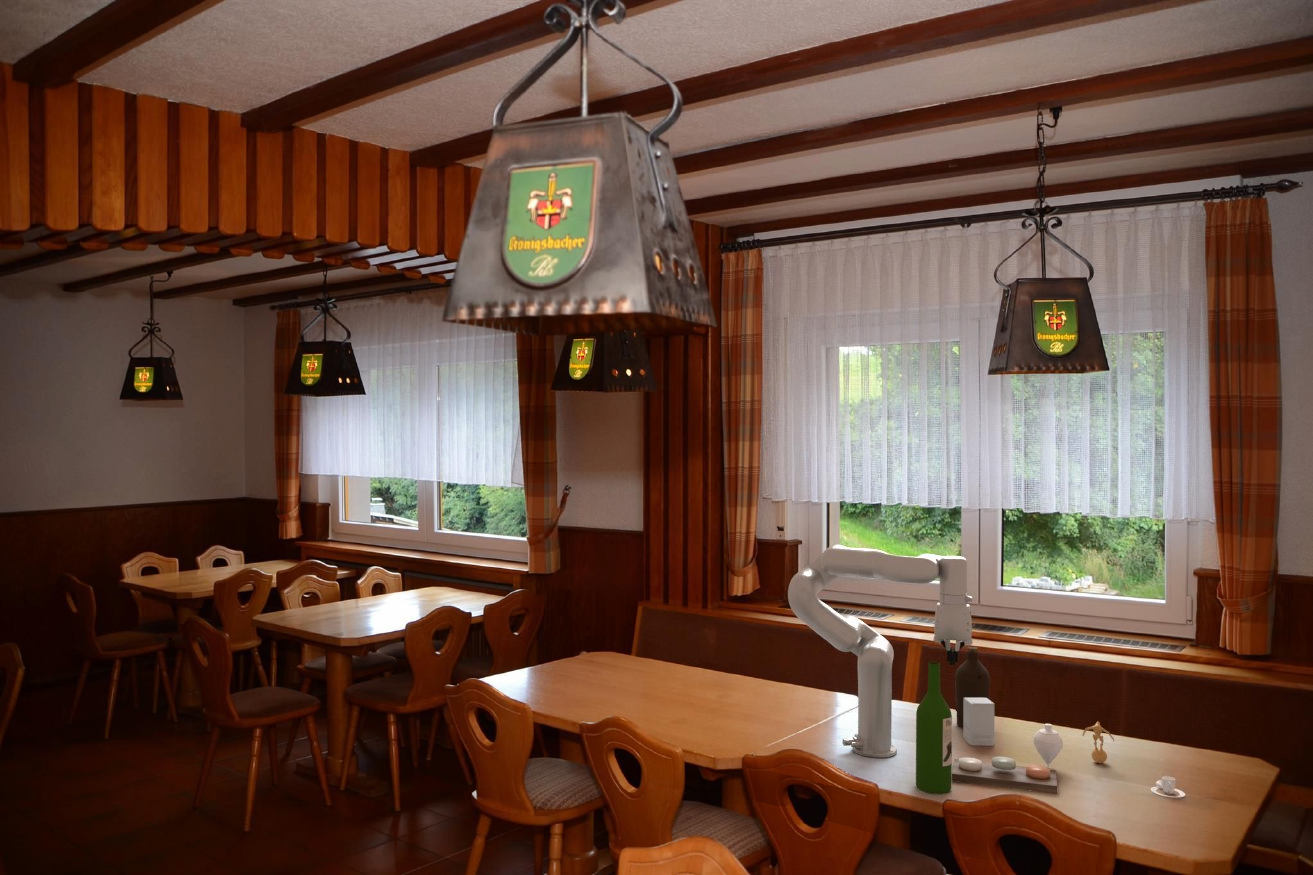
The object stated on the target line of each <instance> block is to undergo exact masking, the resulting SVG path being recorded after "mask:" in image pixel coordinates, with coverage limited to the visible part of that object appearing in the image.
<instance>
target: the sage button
mask: <svg viewBox="0 0 1313 875" xmlns="http://www.w3.org/2000/svg"><path fill="white" fill-rule="evenodd" d="M1016 762H1017V761H1016V760H1015V759H1013V758H1010V757H1007V756H994V757H991V763H992V766H993V767H995V768H997V769H1002V770H1013V769H1015V768H1016V766H1017V765H1016V764H1017V763H1016Z"/></svg>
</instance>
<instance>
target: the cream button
mask: <svg viewBox="0 0 1313 875" xmlns="http://www.w3.org/2000/svg"><path fill="white" fill-rule="evenodd" d="M958 759H959V767H960V768H962V769H965V770H970V771H978V770H981V769H982V762H983V761H982V760H980V759H978V758H973V757H960V758H958Z"/></svg>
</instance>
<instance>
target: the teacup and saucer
mask: <svg viewBox="0 0 1313 875" xmlns="http://www.w3.org/2000/svg"><path fill="white" fill-rule="evenodd" d="M1155 785H1156V786H1152V787H1151V788H1150V792H1152V793H1153V794H1156V795H1159V796H1161V797H1166V798H1172V799H1174V798H1175V799H1179V798H1185V797H1186V793H1185V792H1184V791H1183V790H1180V789H1178V788H1176V778H1175V777H1172V776H1169V775H1168V776H1167V775H1163V776H1161V779H1160V780H1159V779H1158V780H1157V781H1156V782H1155ZM1159 789H1160V790H1162V791H1163V793H1164V794H1162V793H1159V792H1158V791H1157V790H1159ZM1174 792H1177V793H1178V794H1179V795H1173V794H1174ZM1166 794H1168V795H1166ZM1172 795H1173V796H1172Z"/></svg>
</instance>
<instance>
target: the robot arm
mask: <svg viewBox="0 0 1313 875" xmlns="http://www.w3.org/2000/svg"><path fill="white" fill-rule="evenodd" d="M839 576H840V577H849V578H864V579H875V580H881V581H888V582H889V581H890V582H896V583H897V582H898V583H906V584H918V585H919V584H920V585H921V584H923V585H926V584H930V583H932V582H934V581H935V580H939V594H938V596H939V600H938V601H939V602H937V603H936V608H935V613H934V626H933V627H934V629H933V631H934V636H933V642H934V643H936V644H940V645H942V647H943V648H945V651H946V653H947V654H946V658H947V659H946V660H947V662H949V666H956V665H957V663H958V662H959V651H960V650H961V649H962V648H963V647H966V646H967V647H968V646H971V645H973V639H972V637H973V635H972V634H973V625H972V624H973V622H972V621H973V620H972V612H971V611H972V610H971V606H970V604H968V603H970V602H973V596H970V595H968V561H967V559H966V558H965V557H963V556H959V555H944V556H943V555H937V554H932V553H922V554H919V555H918V556H907V555H898V554H897V555H896V554H891V553H887V552H885V551H883V550H880V549H875V548H860V547H859V548H857V547H847V546H845V545H842V544H832V545H830V546H829V547H827V548H826V549H825V550H824V551H823V552H822V553H821V554H820V555H818V556H817V557H816V558H815V559H813V560H812V561H811V562H810V563H809V564H808V565H806V566H804V568H802V569H801V570H800V571H798V572H797V573H795V574H794V575H793V577H792V578H791V579H790V582H789V585H788V590H787V599H788V603H789V604H788V605H789V607H790V608H791V611H792V613H793V614H794V615H795V616H796V617H797V618H798V619H799V620H800V621H801V622H803V624H805V625H806V626H807V627H809V628H810V629H811V630H813V631H814V632H815V633H816V634H817V635H819V636H820V637H821V638H823V639H824V640H826V642H828V643H829V644H830V645H832V646H833V647H834V648H835V649H837V650H838V651H840V652H844V653H848V652H851V653H852V654H854V655H855V656H856V657H857V680H858V681H857V684H858V686H857V689H858V690H857V697H858V698H857V699H858V700H857V702H858V703H857V707H858V708H857V710H858V711H857V712H858V713H857V715H858V717H857V722H858V723H857V733H855V734H854V736H853V737H852V738H843V739H842V745H843V746H844V747H845V746H846V747H847V746H850V747H851V748H852V751H853V752H854V753H856V754H858V755H861V756H864V757H869V758H877V759H878V758H882V759H883V758H891V757H893V756H895V755H897V754H898V753H897V752H898V749H897V747H896V746H895V745H893V744H892V716H893V715H892V714H893V713H892V707H893V705H892V703H893V702H892V701H893V699H892V695H893V694H892V692H893V691H892V688H893V687H892V682H893V681H892V680H893V679H892V677H893V676H892V669H893V668H892V667H893V660H894V656H895V655H894V649H893V646H892V644H891V643H890V641H889V640H887V639H886V638H885V637H884V636H882V635H881V634H880V633H878V632H877V631H876V630H874V629H873V628H872V627H871V626H869V625H868V624H866V623H865V622H863V621H862V620H861V619H859V618H858V617H856V616H853V615H850V614H844V615H841V614H840V613H839V612H837V611H836V610H834V609H833V608H832V607H830V606H829V605H828V604H826V603H825V602H823V601H822V600H821V599H820V598H819V596H818V594H819V593H820V592H821V591H822V590H823V589H825V587H827V586H828V585H830V584H831V583H832V582H833V581H834V580H836V579H837V578H838V577H839ZM951 641H955V645H954V647H952V645H951Z"/></svg>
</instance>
